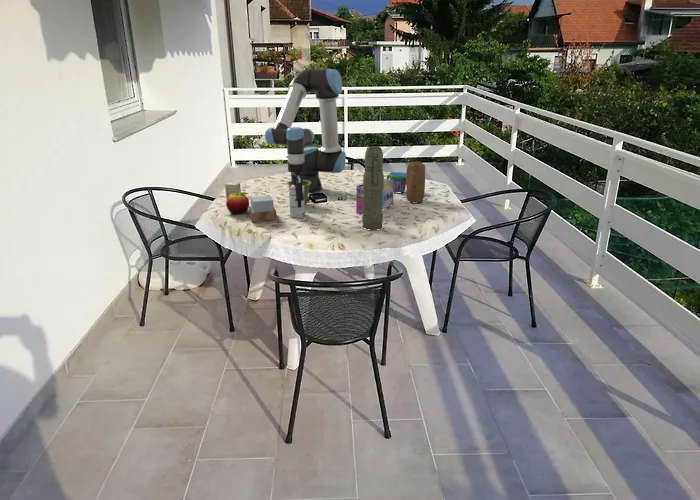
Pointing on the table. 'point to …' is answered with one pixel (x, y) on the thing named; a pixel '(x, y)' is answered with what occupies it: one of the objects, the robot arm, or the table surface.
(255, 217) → the base block
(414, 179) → the block
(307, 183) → the plant pot
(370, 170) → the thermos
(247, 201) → the fruit
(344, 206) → the table surface
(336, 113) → the robot arm
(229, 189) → the skincare box
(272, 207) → the top block
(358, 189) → the gum box
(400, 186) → the snack cup
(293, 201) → the syrup box
